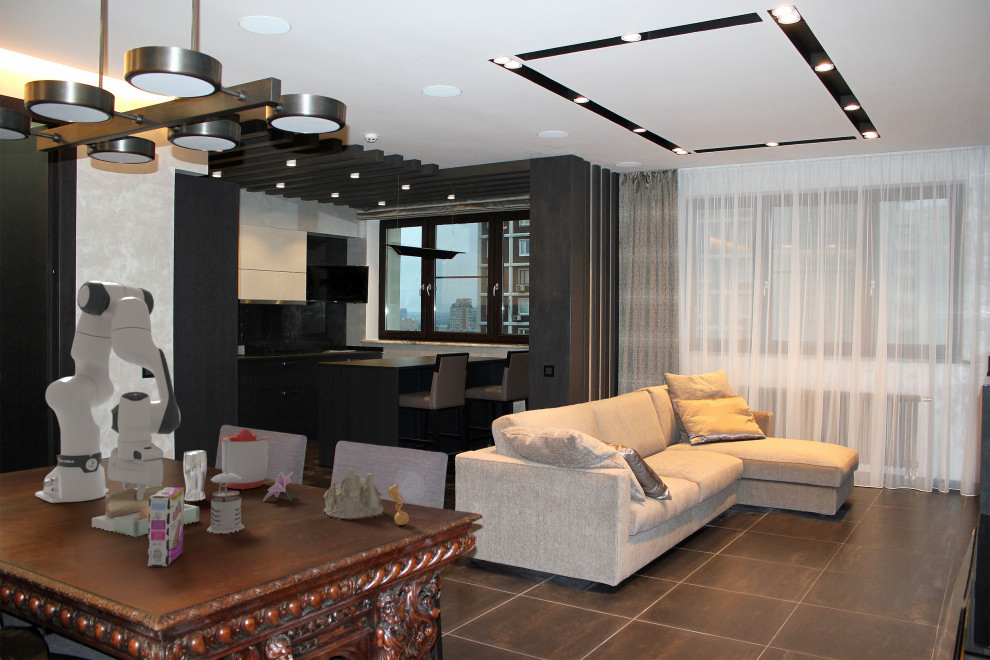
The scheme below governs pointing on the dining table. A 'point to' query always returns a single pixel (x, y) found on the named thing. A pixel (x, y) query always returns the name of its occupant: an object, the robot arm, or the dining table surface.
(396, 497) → the figurine
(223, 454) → the citrus juicer
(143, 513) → the terracotta tile
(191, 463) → the beer glass
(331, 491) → the castle model
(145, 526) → the box
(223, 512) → the french press
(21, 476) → the dining table surface
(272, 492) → the lily
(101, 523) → the plate
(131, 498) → the bar
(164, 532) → the candy bar box
